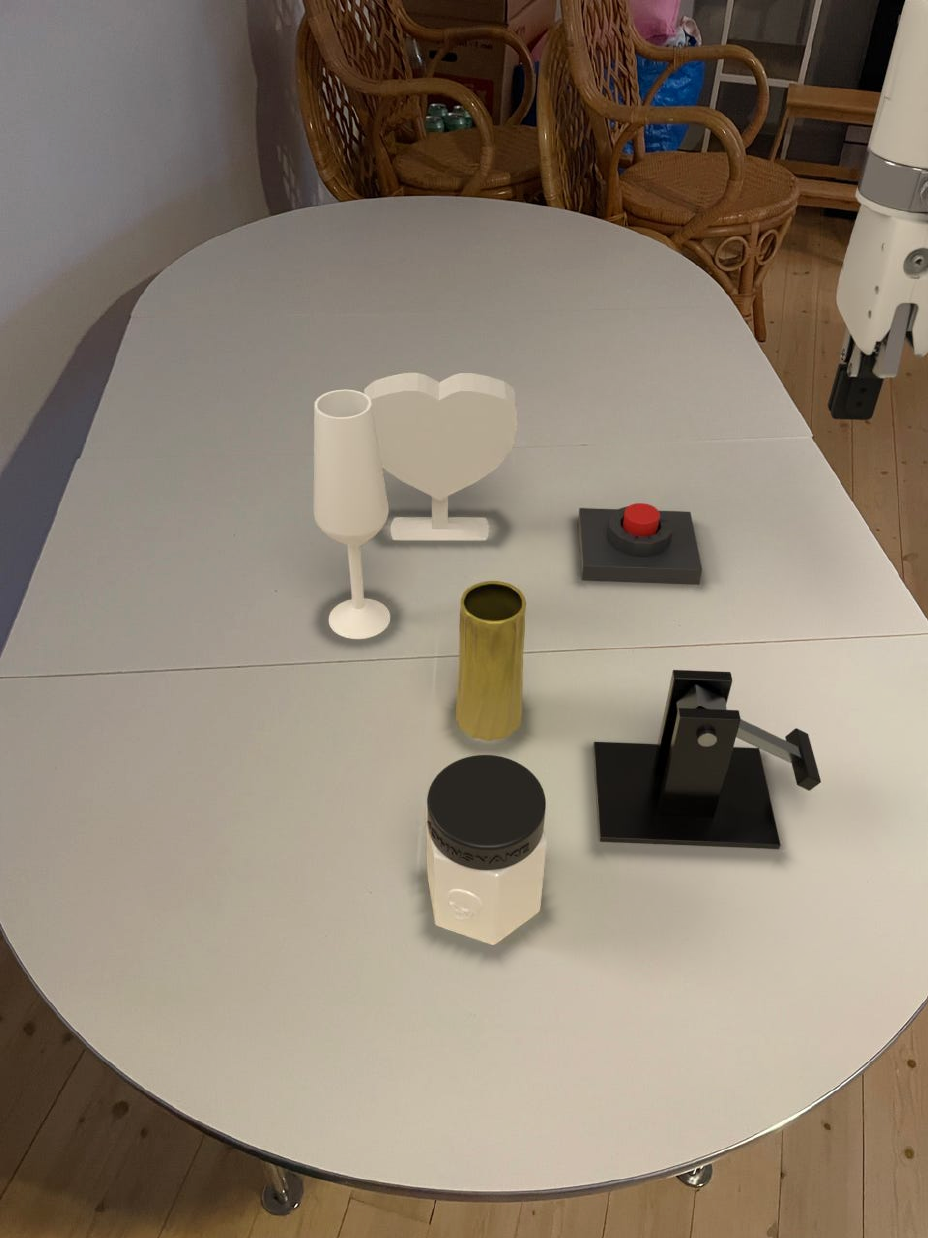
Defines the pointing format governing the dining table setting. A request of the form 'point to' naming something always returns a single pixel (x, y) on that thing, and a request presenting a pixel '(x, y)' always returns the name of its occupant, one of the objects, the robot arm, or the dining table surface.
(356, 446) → the champagne flute
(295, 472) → the dining table surface
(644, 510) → the button
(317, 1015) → the dining table surface
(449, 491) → the heart sculpture
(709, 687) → the bracket
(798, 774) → the lever
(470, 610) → the vase
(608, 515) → the switch block
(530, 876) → the jar
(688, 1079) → the dining table surface
